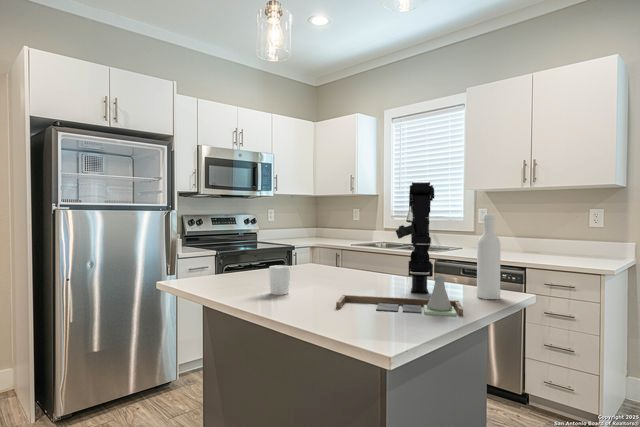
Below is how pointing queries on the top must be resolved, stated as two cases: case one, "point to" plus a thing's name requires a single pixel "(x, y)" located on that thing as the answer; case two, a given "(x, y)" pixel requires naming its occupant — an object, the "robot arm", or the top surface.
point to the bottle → (488, 261)
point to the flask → (439, 296)
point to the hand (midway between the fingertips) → (420, 262)
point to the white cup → (279, 279)
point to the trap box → (394, 303)
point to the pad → (436, 312)
